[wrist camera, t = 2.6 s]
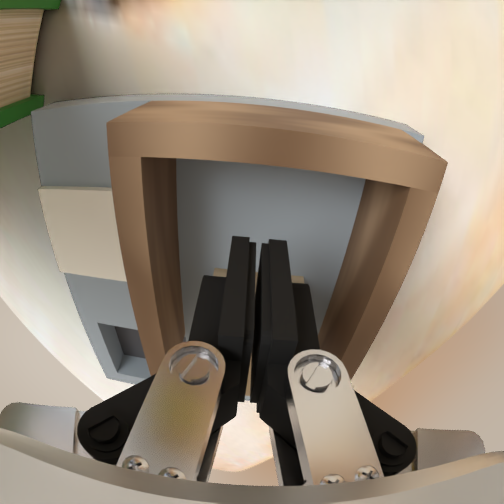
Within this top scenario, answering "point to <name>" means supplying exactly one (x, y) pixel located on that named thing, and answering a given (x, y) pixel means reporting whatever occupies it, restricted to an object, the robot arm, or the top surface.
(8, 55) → the hardback book
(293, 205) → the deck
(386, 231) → the brown wooden u-shaped frame
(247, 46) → the top surface
